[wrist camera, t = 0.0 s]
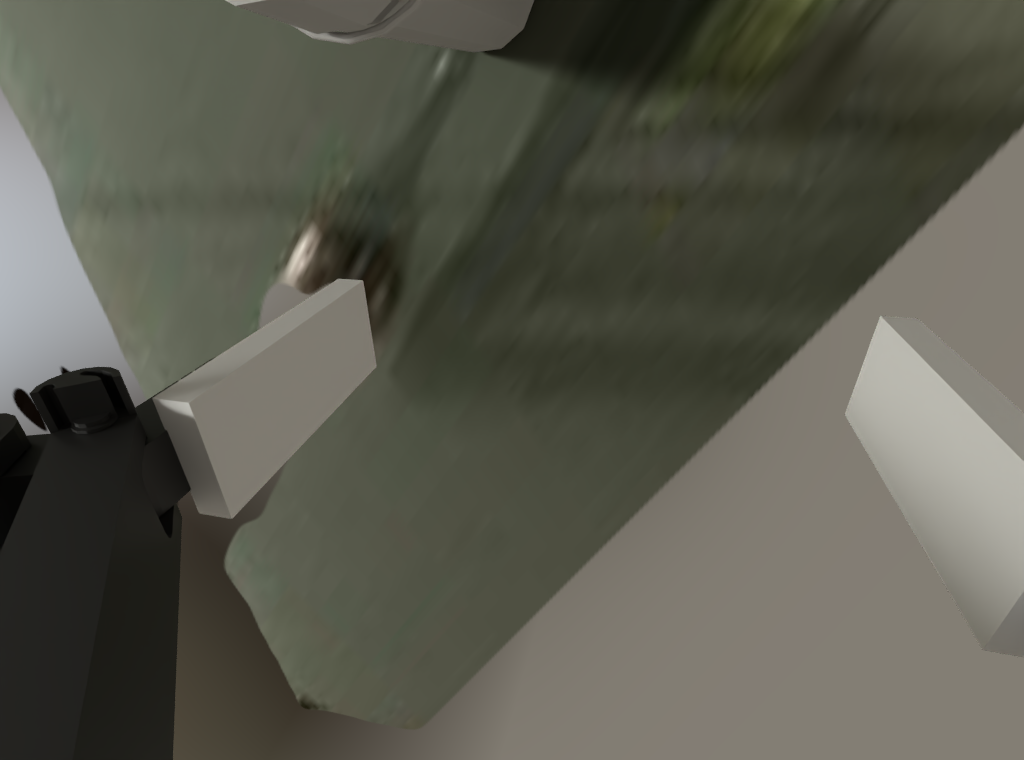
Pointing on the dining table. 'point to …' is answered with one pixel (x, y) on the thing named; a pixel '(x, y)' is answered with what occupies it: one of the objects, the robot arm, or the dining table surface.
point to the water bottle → (402, 20)
